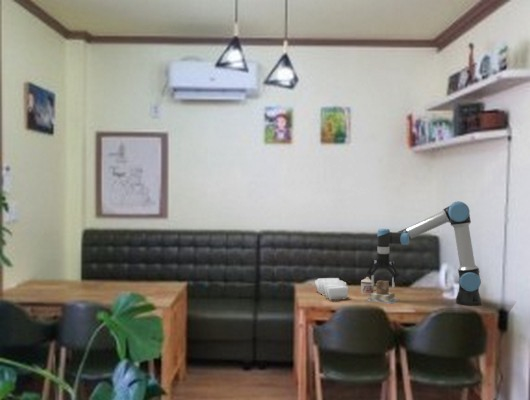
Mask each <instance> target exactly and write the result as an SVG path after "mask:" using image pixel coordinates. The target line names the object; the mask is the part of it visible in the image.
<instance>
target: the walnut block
mask: <svg viewBox="0 0 530 400" xmlns="http://www.w3.org/2000/svg"><path fill="white" fill-rule="evenodd" d="M376 284H377V285H376V289H377V291H375V292H376V294H382V295H386V294H388V293H390V280H381V279H379V280H377V281H376Z"/></svg>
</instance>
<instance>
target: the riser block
mask: <svg viewBox="0 0 530 400" xmlns="http://www.w3.org/2000/svg"><path fill="white" fill-rule="evenodd" d="M395 297H396V296H395V292H389V293H388V294H386V295H382V294H376V291H374V293H372V294H370V295H369V298H370V300H371V301H370V302H373V301H379V302H378V303H381V302H387V303H386V304H389V302H391V301H392V300H394V299H396V298H395Z"/></svg>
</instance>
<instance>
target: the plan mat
mask: <svg viewBox="0 0 530 400" xmlns="http://www.w3.org/2000/svg"><path fill="white" fill-rule="evenodd" d="M364 301H367V302H375V303H381V304H382V303H383V304H394V303H397V302H398V301H400V299H399V298H394V300H392V301H391V302H389V303H387V302H379V301H371V300H370V297H369V298H367V299H365V300H364Z"/></svg>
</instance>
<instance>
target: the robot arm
mask: <svg viewBox="0 0 530 400" xmlns="http://www.w3.org/2000/svg"><path fill="white" fill-rule="evenodd" d="M470 212H471V211H470V208H469V206H468V205H467V204H466V203H465V202H463V201H455V202H453V203H451V204H450V205H449V206H446V207H444V208H443V209H442V211H440V212H437V213H436V214H434V215H431V216H430V217H427V218H425V219H423V220H421V221H418V222H416V223H414V224H412V225H410V226H408V227H406V228H404V229H401V230H398V231H397V232H391V230H390V229H389V228H379V229H378V230H377V241H376V242H377V245H376V246H377V248H376V249H377V251H376V253H377V255H376V257H377V258H376V260H375V259H372V261H371V265H370V267H369V268H368V270H367V275H369V279H370V280H371V286H373V285H374V284H375V275H374V273H376V272H377V270H379V268H381V269H387V271H389V273H390V275H392V278H391V280H392V281H391V288H392V289H393V288H395V287H396V286H395V285H396V284H395V283H397V278H398V277H400V274H399V271H398V269H397V268H396V264H395V261H394V260H393V261H390V245H402V246H405V245H407V246H408V245H409V244H410V240H412V239H414V238H416V237H419V236H420V235H422V234H423V235H424V234H426V233H427V232H428V231H431V230H434V229H436V228H438V227H440V226H442V225H444V224H447V223H450V226H451V227H453V230H454V231H453V232H454V237H455V243H456V247H457V248H456V249H457V255H458V261H459V266H458V269H457V272H458V277H459V281H458V292H457V294H456V298H455V303H456V304H459V305H464V306H481V305H482V298H481V295H480V292H479V291H480V287H481V284H482V281H481V280H482V279H481V278H480V268H479V267H478V266H477V265H476V263H475V257H474V251H473V245H472V244H473V243H472V238H471V231H470V224H471V223H472V221H471V220H472V219H471V215H470V214H471V213H470ZM375 264H377V265H376V266H375ZM390 265H391V266H390ZM374 266H375V268H374ZM373 268H374V269H373ZM374 286H375V285H374Z"/></svg>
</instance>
